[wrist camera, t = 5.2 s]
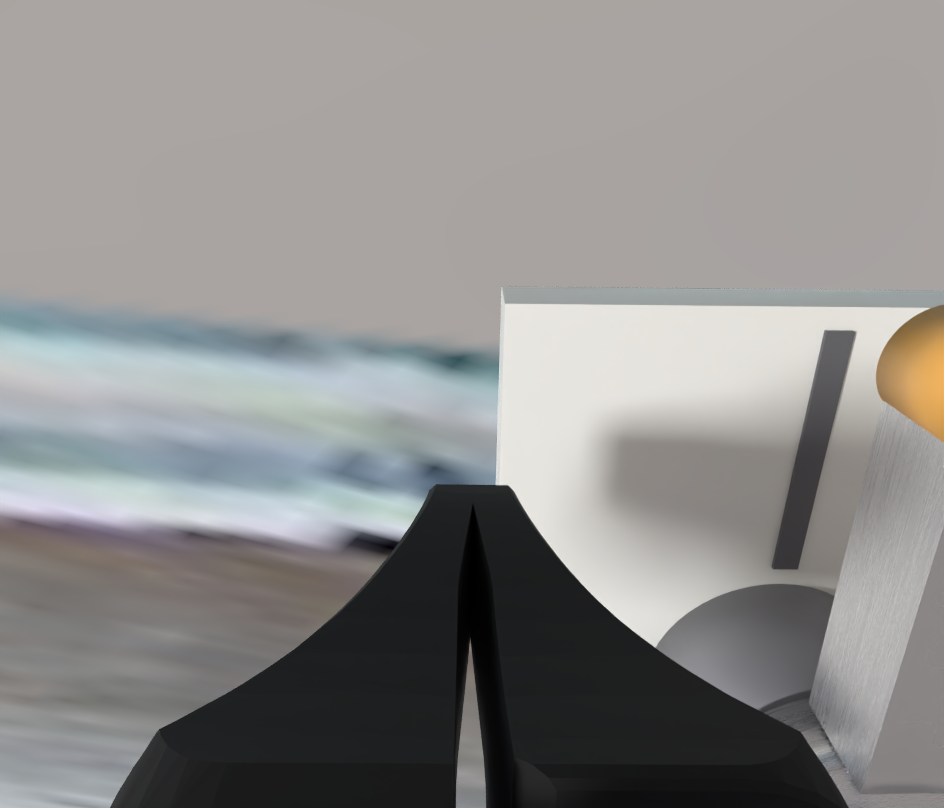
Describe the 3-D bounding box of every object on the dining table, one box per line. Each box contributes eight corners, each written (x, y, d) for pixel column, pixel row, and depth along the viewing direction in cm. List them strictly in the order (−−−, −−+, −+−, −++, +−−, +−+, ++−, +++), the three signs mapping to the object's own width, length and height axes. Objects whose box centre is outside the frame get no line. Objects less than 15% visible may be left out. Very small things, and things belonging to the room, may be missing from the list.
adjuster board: (925, 784, 22) (1031, 941, 18) (486, 783, 22) (491, 942, 18) (1116, 292, 16) (1350, 358, 12) (501, 286, 15) (514, 351, 11)
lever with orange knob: (913, 871, 16) (983, 991, 14) (676, 875, 16) (709, 995, 14) (1128, 298, 11) (1298, 347, 9) (771, 302, 11) (850, 352, 9)
